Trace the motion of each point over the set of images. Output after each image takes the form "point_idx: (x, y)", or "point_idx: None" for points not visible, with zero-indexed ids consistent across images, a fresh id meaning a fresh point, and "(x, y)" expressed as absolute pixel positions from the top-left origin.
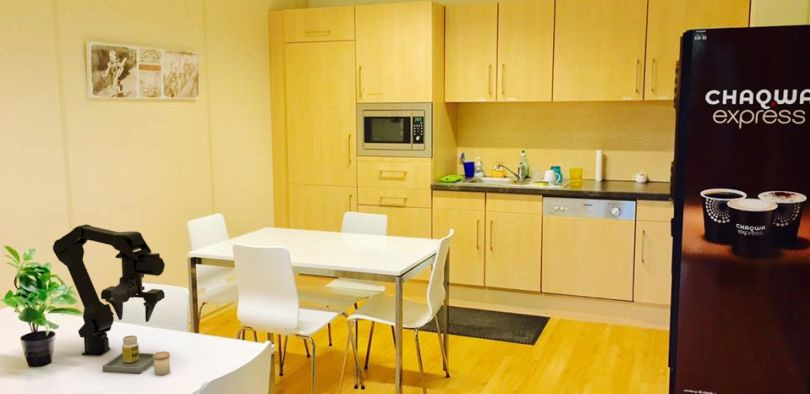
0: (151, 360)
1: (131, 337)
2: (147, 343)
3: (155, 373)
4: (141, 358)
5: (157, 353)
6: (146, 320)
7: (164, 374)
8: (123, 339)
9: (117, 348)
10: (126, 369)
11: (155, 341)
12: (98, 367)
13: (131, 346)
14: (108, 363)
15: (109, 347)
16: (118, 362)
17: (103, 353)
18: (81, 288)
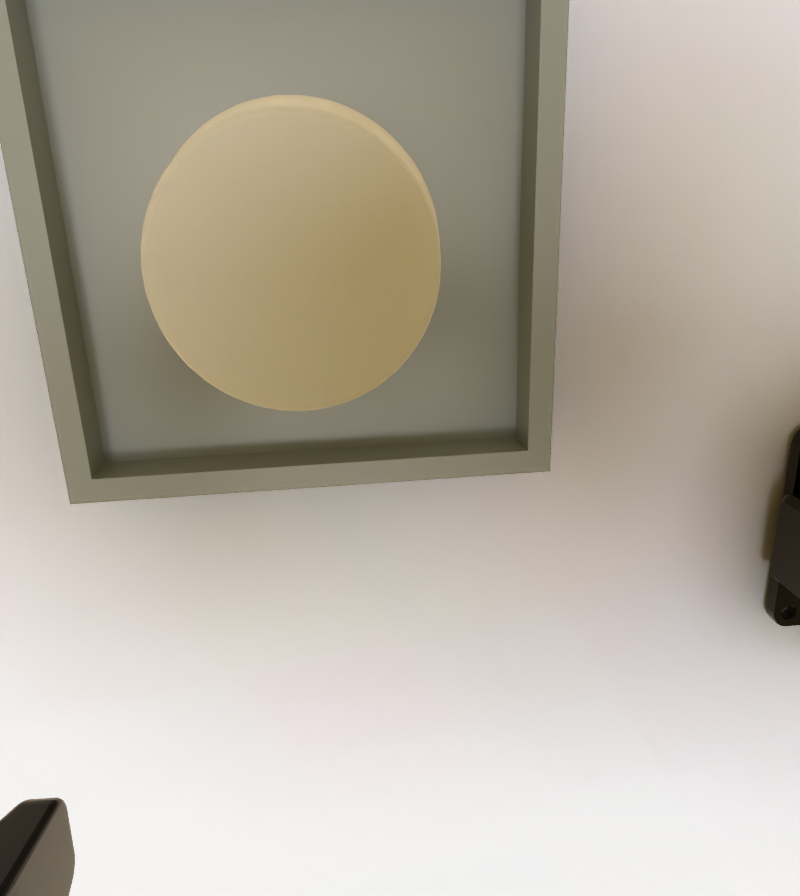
0: (36, 301)
1: (258, 276)
2: (481, 815)
3: None
4: (277, 416)
5: None
6: (14, 831)
7: None
8: (385, 144)
9: (709, 649)
10: None
11: (432, 870)
12: (668, 102)
13: (194, 133)
14: (539, 54)
15: (787, 623)
16: (482, 242)
17: (786, 487)
18: None
